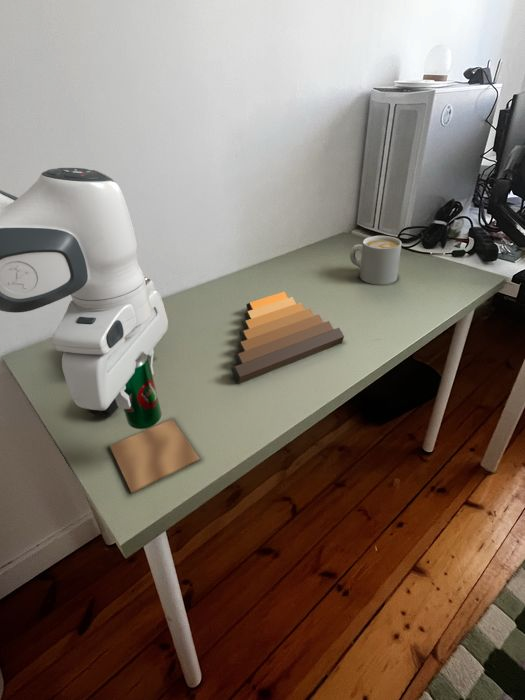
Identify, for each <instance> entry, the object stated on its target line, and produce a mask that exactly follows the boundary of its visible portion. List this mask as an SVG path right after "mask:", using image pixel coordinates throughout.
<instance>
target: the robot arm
mask: <svg viewBox="0 0 525 700" xmlns="http://www.w3.org/2000/svg"><path fill="white" fill-rule="evenodd" d="M137 252H138V242H137V237H136V233H135V229H134V225H133V221H132V218H131V214H130V210H129V208H128V204H127V202H126V198H125V196H124V194H123V191H122V190H121V187H120V185H119V184H118V182H116V181H114V179H113V178H111V177H110V176H108V175H107V174H105V173H103V172H100V171H98V170H95V169H88V168H81V167H57V168H50V169H47V170H45V171H43V172H41V173H40V175H39V177H38V178H37V180H36V181H35V182H34V183H33V185H31V186H30V187H29V188H28V189H27V190H26V191H25V192H24V193H22V194H21V195H20V196H19V197H17V196H16V195H13V194H10V193H8V192H6V191H3V190H1V189H0V311H1V312H5V313H26V312H31V311H34V310H37V309H40V308H43V307H46V306H48V305H51V304H54V303H55V302H58V301H60V300H62V299H65V298H67V297H68V296H70V297H71V300H70V301H69V303H68V305H67V309H66V311H65V313H64V315H63V317H62V319H61V321H60V323H58V326H57V327H56V329H55V330H54V332H53V334H52V337H51V341H52V345H53V347H54V349H55V350H56V351H59V352H63V354H62V357H61V368H62V373H63V376H64V379H65V383H66V385H67V388H68V391H69V393H70V396H71V398H72V400H73V402H74V404H75V405H76V406H77V407H79V408H82V409H85V410H88V409H90V410H106V409H107V408H108V407H109V405H110V404H111V403H112V401H113V400H114V399H116V402H117V406H118V409H122V410H124V409H129V408H130V406H131V405H132V403H133V402H134V399H133V394H132V393H129V392H127V393H125V392H124V390H125V389H126V386H125V384H126V383H127V382H128V381H129V379H130V378H131V377H132V375H133V374H134V373H135V367H136V362H135V360H136V359H137V358H139V357H140V356H141V355H142V351H143V350H144V353H145V354H147V355H148V359H149V363H150V367H151V371H152V375H153V376H154V373H155V372H154V371H155V370H154V368H153V364H154V363H153V362H154V354H155V350H154V348H155V347H156V345H157V344H158V343H159V342H160V340H161V339H162V338H163V336H164V335H166V333H167V331H168V327H169V320H168V315H167V312H166V309H165V305H164V302H163V299H162V296H161V294H160V292H159V291H158V290H156V288H155V284H154V281H153V280H151V279H150V278H148V277H147V276H145V275H144V272H143V270H142V268H141V267H140V264H139V262H138V257H137Z"/></svg>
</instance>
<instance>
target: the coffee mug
mask: <svg viewBox="0 0 525 700" xmlns="http://www.w3.org/2000/svg"><path fill="white" fill-rule="evenodd" d="M357 251H359V252H360V259H357V257H356V252H357ZM401 252H402V241H401V240H400V239H399V238H397V237H394V236H388V235H373V236H368V237H366V238H364V239H363V240H362V244H355V245H353V246H352V247H351V250H350V253H349V259H350V262H351V263H352V264H353V265H354V266H356V267H357V268H359V270H360V271H359V273H360V274H359V277H360V279H361V281H363V282H365V283H367V284H372V285H377V286H379V285H380V286H383V285H390V284H393V283H395V282H396V281H398V274H399V269H400V268H399V266H400V260H401V259H400V258H401Z"/></svg>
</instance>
